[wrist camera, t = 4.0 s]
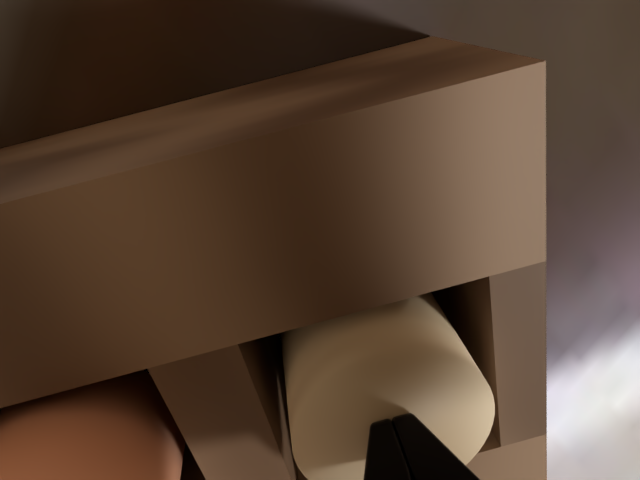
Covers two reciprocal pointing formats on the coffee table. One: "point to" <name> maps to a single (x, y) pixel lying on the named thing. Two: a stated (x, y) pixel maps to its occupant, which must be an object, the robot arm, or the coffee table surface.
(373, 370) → the maple plug
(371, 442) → the robot arm
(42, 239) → the wooden compartment tray
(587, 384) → the coffee table surface
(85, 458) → the terracotta plug
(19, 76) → the coffee table surface
